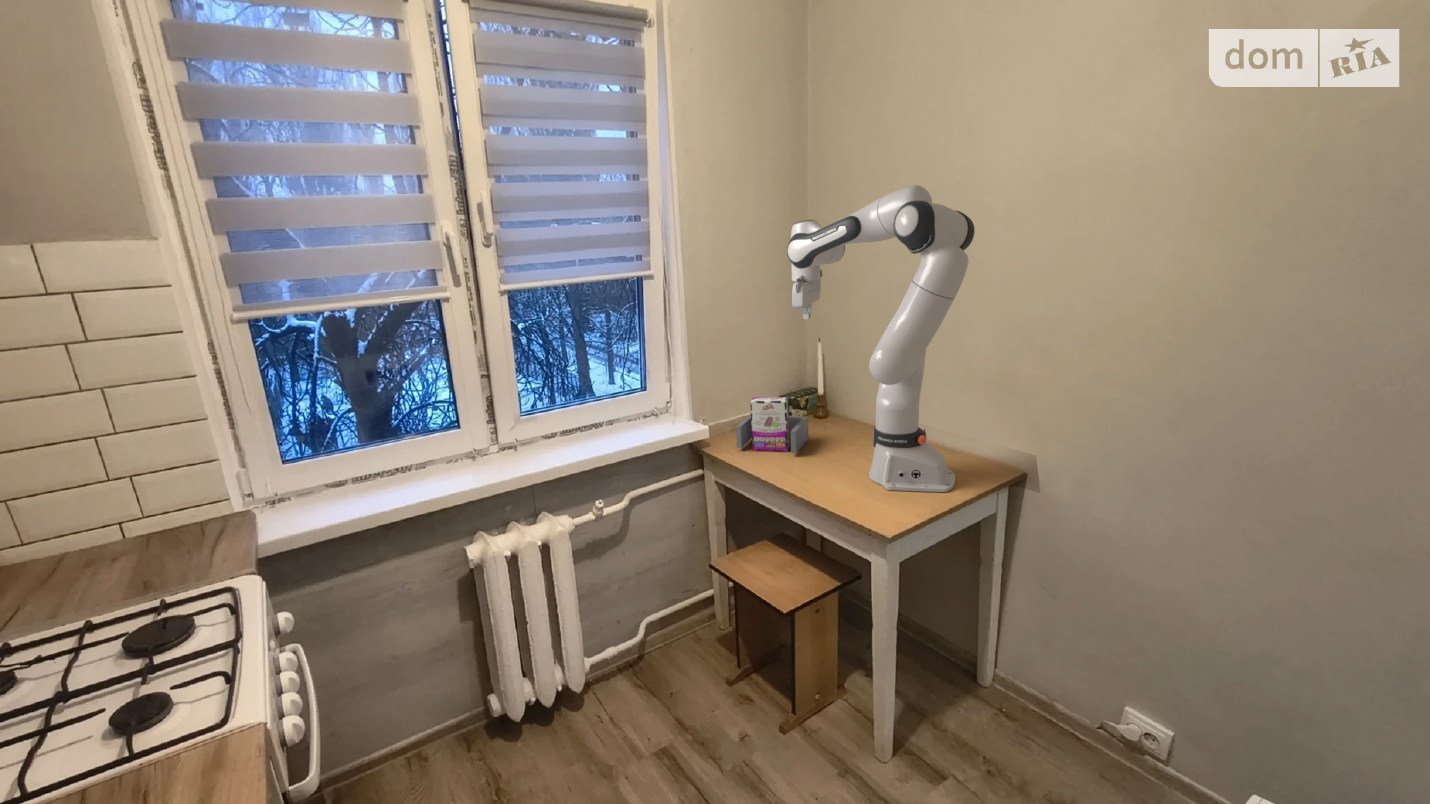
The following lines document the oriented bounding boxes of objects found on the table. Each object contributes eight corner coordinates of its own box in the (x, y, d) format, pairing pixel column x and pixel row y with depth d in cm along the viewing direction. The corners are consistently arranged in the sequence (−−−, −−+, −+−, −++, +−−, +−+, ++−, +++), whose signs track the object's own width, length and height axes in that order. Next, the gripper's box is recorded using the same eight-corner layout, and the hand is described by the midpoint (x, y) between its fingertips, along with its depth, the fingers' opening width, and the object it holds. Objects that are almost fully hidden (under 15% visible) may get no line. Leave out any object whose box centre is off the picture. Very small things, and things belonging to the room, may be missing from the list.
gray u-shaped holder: (808, 439, 203) (808, 417, 201) (796, 455, 191) (795, 431, 189) (752, 434, 211) (751, 412, 209) (737, 449, 199) (735, 426, 196)
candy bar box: (789, 446, 200) (788, 396, 196) (788, 452, 196) (786, 401, 191) (754, 445, 203) (752, 396, 198) (752, 451, 198) (750, 401, 193)
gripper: (806, 278, 188) (807, 324, 192) (823, 270, 205) (824, 313, 209) (786, 278, 190) (787, 324, 194) (804, 271, 208) (805, 313, 212)
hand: (807, 318), depth 202 cm, fingers closed
